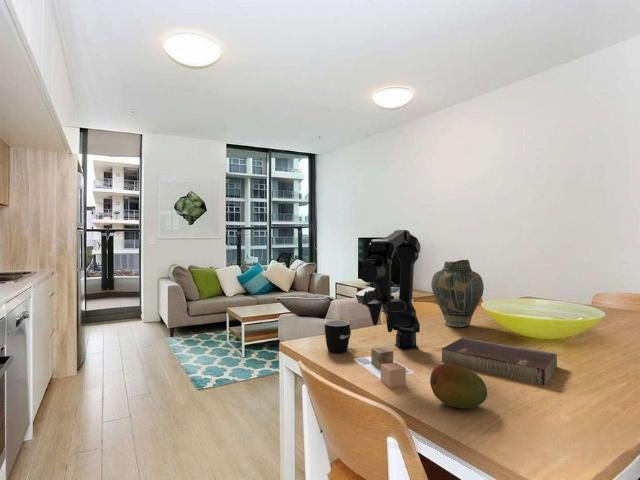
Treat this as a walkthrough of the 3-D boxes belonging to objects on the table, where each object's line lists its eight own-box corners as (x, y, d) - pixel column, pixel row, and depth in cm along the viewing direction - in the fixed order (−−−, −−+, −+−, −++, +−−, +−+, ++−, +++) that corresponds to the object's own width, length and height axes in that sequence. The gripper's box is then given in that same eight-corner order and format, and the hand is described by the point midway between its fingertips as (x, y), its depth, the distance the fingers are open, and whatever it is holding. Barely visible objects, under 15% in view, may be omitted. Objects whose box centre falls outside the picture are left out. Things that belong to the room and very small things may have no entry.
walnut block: (385, 362, 121) (385, 346, 121) (393, 367, 116) (393, 351, 116) (371, 364, 119) (371, 348, 119) (379, 369, 114) (379, 353, 114)
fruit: (424, 395, 96) (424, 357, 96) (471, 393, 97) (471, 355, 97) (443, 418, 84) (443, 374, 84) (496, 415, 85) (496, 372, 85)
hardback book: (556, 368, 116) (556, 352, 116) (544, 387, 102) (544, 369, 101) (463, 349, 135) (463, 335, 135) (441, 363, 121) (441, 348, 121)
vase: (492, 331, 157) (492, 260, 156) (439, 332, 157) (439, 261, 156) (471, 319, 179) (471, 257, 178) (425, 319, 179) (425, 257, 179)
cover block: (396, 379, 107) (395, 362, 107) (405, 386, 102) (405, 368, 102) (380, 381, 105) (380, 364, 105) (390, 388, 101) (389, 370, 101)
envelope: (384, 355, 128) (384, 354, 128) (415, 373, 111) (415, 372, 111) (353, 359, 124) (353, 358, 124) (379, 379, 107) (379, 378, 107)
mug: (339, 356, 127) (339, 327, 127) (319, 351, 133) (319, 323, 132) (359, 348, 136) (359, 320, 136) (340, 343, 142) (340, 317, 141)
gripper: (346, 277, 123) (346, 324, 123) (373, 284, 105) (373, 339, 106) (376, 275, 127) (376, 321, 127) (406, 282, 109) (407, 335, 109)
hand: (382, 328), depth 117 cm, fingers open, 9 cm apart
